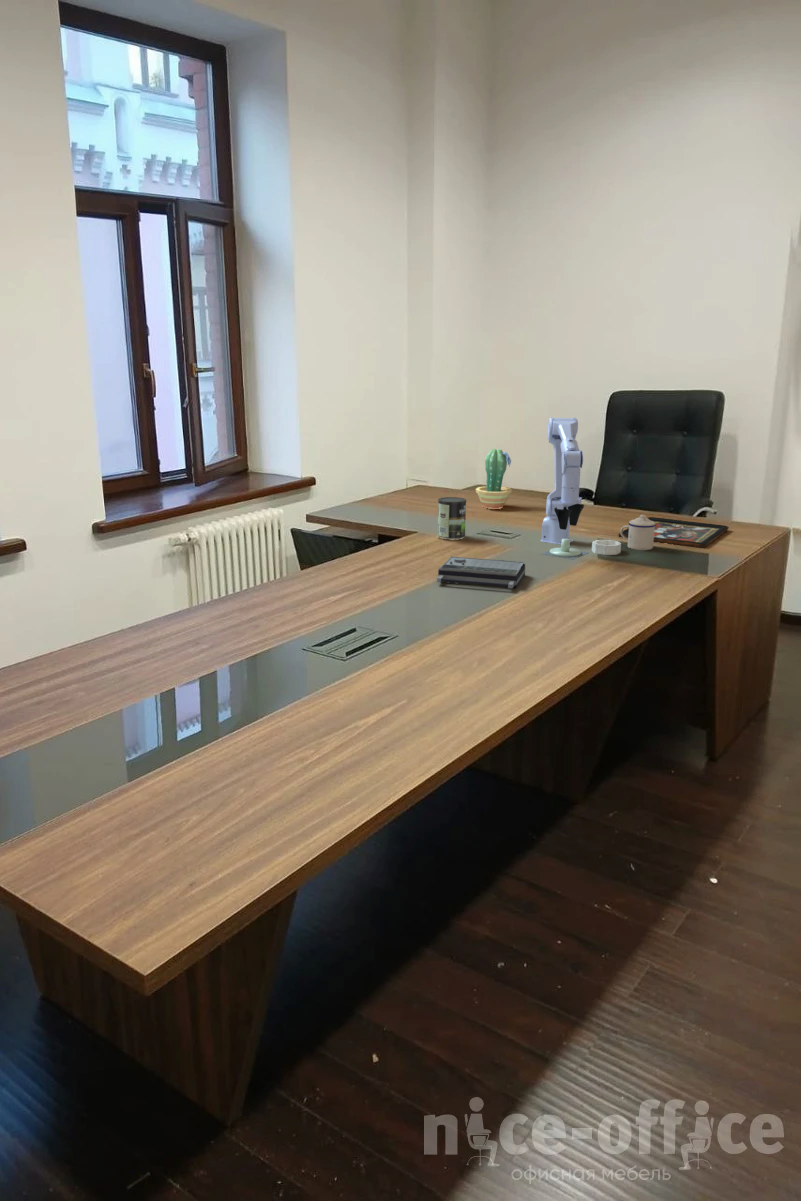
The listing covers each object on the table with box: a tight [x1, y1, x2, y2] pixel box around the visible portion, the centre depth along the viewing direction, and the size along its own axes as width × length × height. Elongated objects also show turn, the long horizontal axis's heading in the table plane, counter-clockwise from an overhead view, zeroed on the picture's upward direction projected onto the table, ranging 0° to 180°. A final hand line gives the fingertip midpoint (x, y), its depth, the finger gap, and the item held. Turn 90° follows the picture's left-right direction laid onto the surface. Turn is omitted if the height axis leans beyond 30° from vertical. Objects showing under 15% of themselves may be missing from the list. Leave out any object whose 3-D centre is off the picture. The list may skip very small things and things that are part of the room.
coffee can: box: [437, 496, 467, 539], centre depth 326 cm, size 10×10×14 cm
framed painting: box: [618, 516, 729, 549], centre depth 335 cm, size 38×35×3 cm
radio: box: [436, 556, 526, 589], centre depth 272 cm, size 24×5×20 cm
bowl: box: [591, 539, 622, 556], centre depth 306 cm, size 9×9×4 cm
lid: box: [549, 538, 581, 558], centre depth 303 cm, size 10×10×5 cm
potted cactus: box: [475, 448, 513, 508], centre depth 379 cm, size 15×15×25 cm
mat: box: [541, 550, 590, 560], centre depth 304 cm, size 12×12×1 cm
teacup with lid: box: [619, 514, 655, 551], centre depth 313 cm, size 12×9×12 cm
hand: (568, 527), depth 301 cm, fingers open, 7 cm apart
